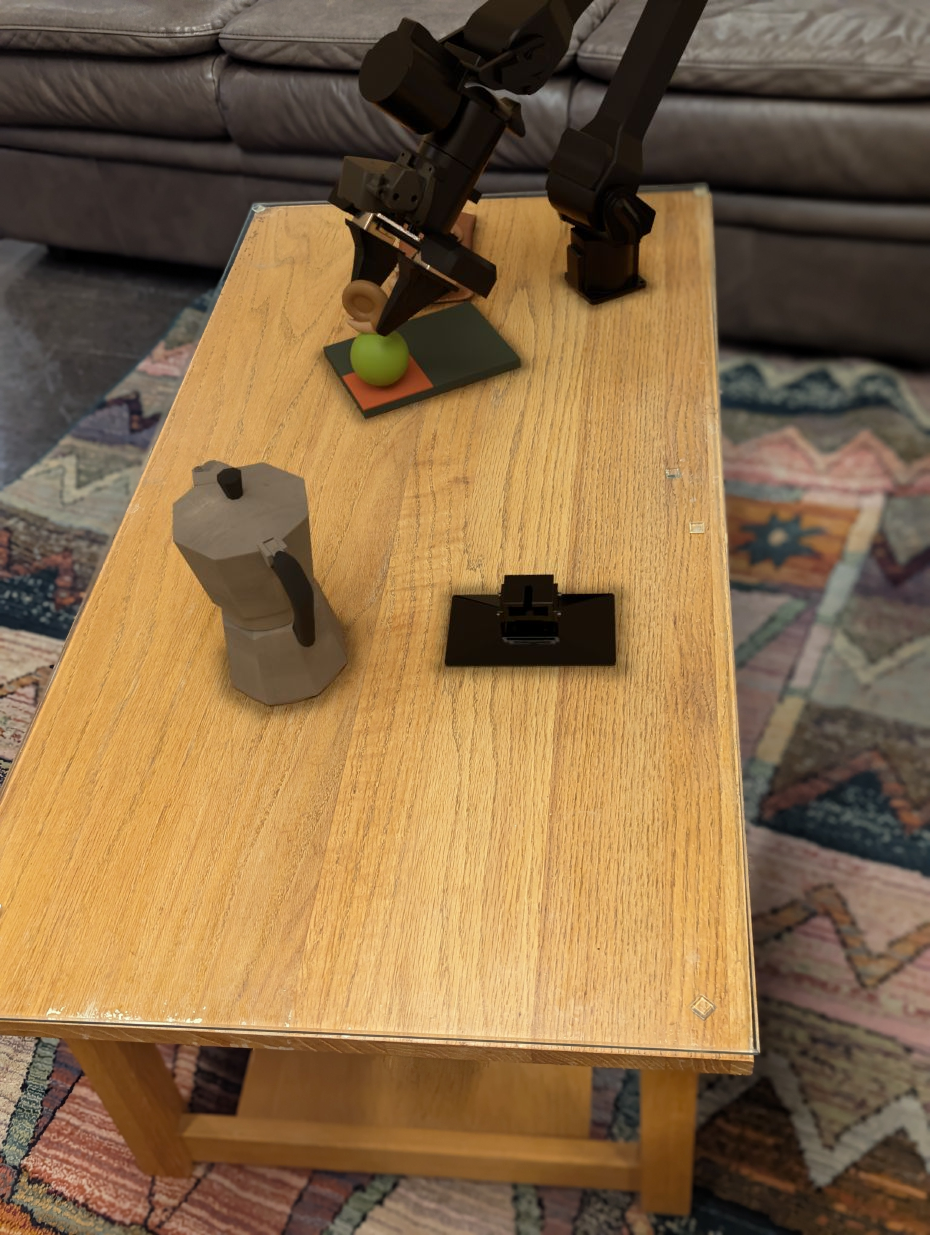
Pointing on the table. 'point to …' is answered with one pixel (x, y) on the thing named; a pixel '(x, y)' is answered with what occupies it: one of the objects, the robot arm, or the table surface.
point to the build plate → (531, 627)
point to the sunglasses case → (465, 234)
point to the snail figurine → (373, 334)
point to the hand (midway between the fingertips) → (364, 323)
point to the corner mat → (430, 359)
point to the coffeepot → (261, 578)
